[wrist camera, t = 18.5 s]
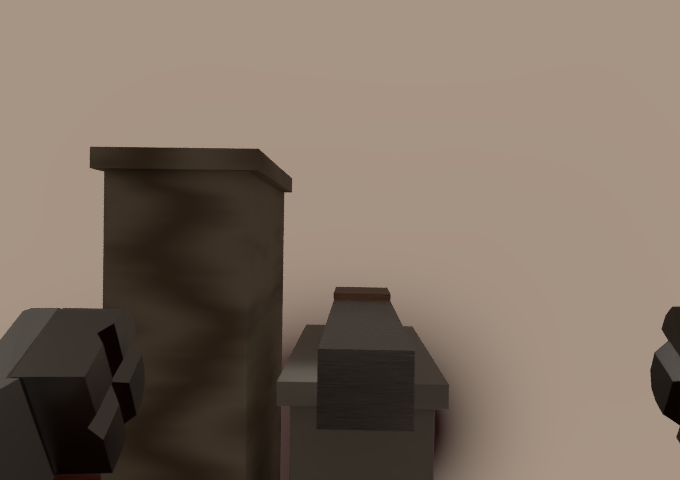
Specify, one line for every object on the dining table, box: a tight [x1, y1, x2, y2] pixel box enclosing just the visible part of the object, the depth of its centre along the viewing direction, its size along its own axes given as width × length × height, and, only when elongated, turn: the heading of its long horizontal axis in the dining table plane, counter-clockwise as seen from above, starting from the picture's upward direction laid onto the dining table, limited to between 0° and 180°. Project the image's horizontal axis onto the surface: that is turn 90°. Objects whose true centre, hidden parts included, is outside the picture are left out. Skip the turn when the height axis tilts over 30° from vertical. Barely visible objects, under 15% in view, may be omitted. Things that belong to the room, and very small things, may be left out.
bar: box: [317, 287, 415, 432], centre depth 30 cm, size 22×3×3 cm, turn 179°
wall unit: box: [90, 147, 292, 480], centre depth 38 cm, size 8×16×26 cm, turn 179°
